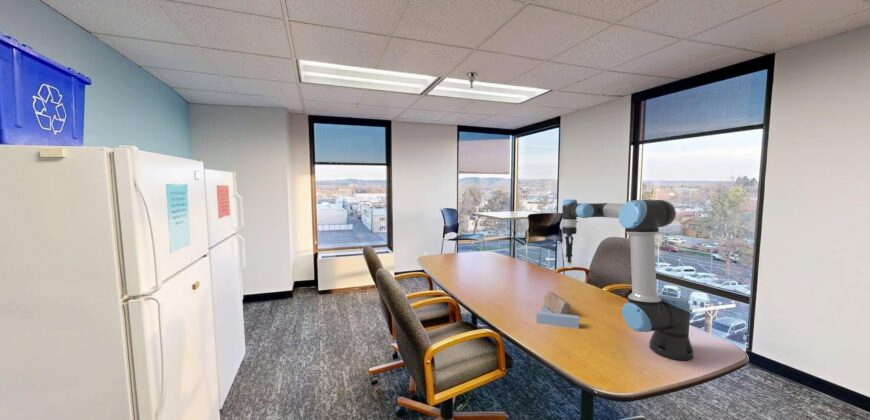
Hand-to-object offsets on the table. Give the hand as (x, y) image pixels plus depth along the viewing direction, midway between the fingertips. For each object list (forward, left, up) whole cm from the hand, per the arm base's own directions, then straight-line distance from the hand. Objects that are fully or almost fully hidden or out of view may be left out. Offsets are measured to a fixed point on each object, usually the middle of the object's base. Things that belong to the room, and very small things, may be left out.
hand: (568, 267), depth 185 cm
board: (-25, +6, -24) cm, 35 cm away
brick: (-8, +7, -24) cm, 26 cm away
